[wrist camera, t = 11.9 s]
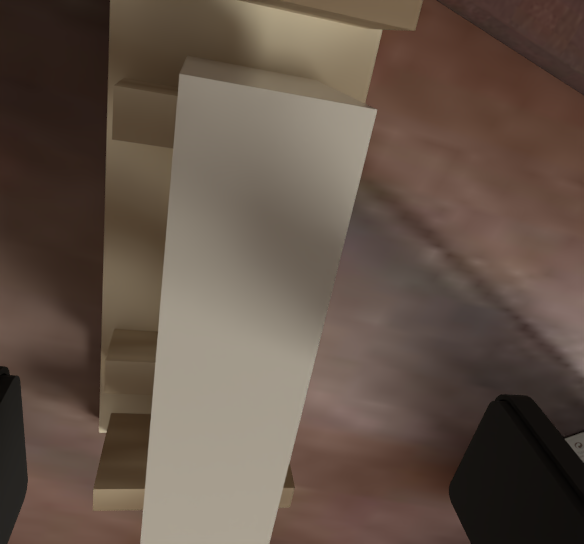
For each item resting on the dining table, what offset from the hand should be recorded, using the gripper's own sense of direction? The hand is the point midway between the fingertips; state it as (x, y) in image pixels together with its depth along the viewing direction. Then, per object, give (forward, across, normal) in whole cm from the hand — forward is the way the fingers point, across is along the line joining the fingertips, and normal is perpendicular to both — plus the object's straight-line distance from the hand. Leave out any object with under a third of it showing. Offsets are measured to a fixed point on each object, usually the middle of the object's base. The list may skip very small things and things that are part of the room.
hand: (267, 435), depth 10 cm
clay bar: (+9, 0, +1) cm, 9 cm away
